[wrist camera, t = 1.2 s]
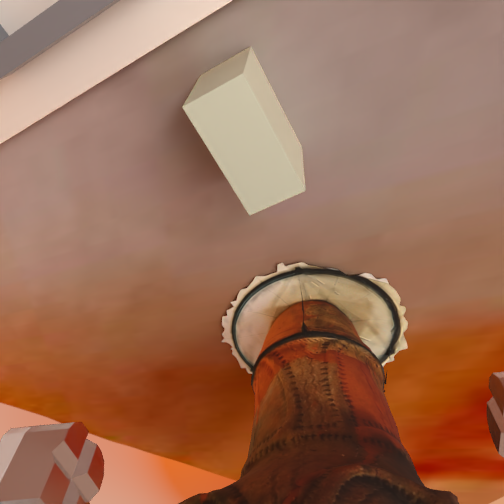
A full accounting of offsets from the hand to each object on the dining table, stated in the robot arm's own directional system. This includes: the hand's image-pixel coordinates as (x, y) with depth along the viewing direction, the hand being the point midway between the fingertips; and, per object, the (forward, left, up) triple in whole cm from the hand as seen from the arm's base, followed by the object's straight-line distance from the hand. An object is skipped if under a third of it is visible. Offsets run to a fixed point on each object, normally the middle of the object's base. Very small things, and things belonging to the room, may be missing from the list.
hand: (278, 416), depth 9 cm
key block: (+3, +2, -27) cm, 28 cm away
